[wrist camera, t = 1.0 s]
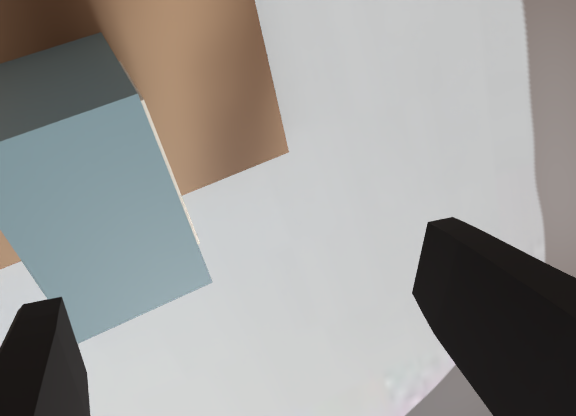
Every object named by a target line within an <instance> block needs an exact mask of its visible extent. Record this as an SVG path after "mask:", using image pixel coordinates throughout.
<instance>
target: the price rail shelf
mask: <svg viewBox="0 0 576 416" xmlns="http://www.w3.org/2000/svg"><path fill="white" fill-rule="evenodd" d="M100 32H101V33H102V34H103V36H104V38H105V39H106V41H107V43H108V45H109V46H110V48H111V50H112V51H113V53H114V55H115V56H116V58H117V60H118V61H121V63H122V65H123V66H124V68H125V69H126V71H127V73H128V74H129V76H130V78H131V79H132V81H133V83H134V84H135V86H136V88H137V89H138V91H139V92H140V94H141V96H142V97H143V99H144V101H145V104H146V106H147V109H148V111H149V114H150V116H151V119H152V122H153V124H154V127H155V129H156V132H157V134H158V137H159V139H160V142H161V145H162V147H163V150H164V152H165V155H166V157H167V160H168V162H169V165H170V167H171V170H172V173H173V175H174V178H175V180H176V183H177V185H178V188H179V190H180V193H181V196H182V195H185V194H187V193H189V192H192V191H194V190H197V189H199V188H202V187H204V186H207V185H209V184H212V183H214V182H217V181H219V180H222V179H224V178H226V177H229V176H231V175H234V174H236V173H239V172H241V171H244V170H246V169H249V168H251V167H254V166H256V165H258V164H261V163H263V162H266V161H268V160H271V159H273V158H276V157H278V156H281V155H283V154H286V153H288V152H289V151H288V146H287V142H286V137H285V133H284V129H283V124H282V120H281V115H280V111H279V106H278V102H277V98H276V93H275V89H274V84H273V80H272V75H271V71H270V67H269V62H268V58H267V53H266V49H265V45H264V40H263V36H262V31H261V27H260V22H259V18H258V14H257V9H256V5H255V0H0V64H1V63H4V62H7V61H11V60H14V59H17V58H20V57H23V56H27V55H30V54H33V53H36V52H39V51H42V50H46V49H49V48H52V47H55V46H58V45H62V44H65V43H68V42H71V41H74V40H77V39H81V38H84V37H87V36H90V35H93V34H97V33H100ZM20 261H21V259H20V258H19V256H18V255H17V253H16V252H15V251H14V249H13V248H12V246H11V245H10V243H9V242H8V240H7V239H6V237H5V236H4V234H3V233H2V231H1V230H0V269H2V268H5V267H7V266H10V265H12V264H15V263H17V262H20Z"/></svg>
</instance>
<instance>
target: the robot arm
mask: <svg viewBox="0 0 576 416" xmlns="http://www.w3.org/2000/svg"><path fill="white" fill-rule="evenodd" d="M412 294H413V295H414V297H415V299H416V301H417V303H418V305H419V307H420V309H421V311H422V313H423V315H424V317H425V318H426V320H427V322H428V324H429V326H430V327H431V329H432V331H433V333H434V334H435V336H436V337H437V339H438V340H439V341H440V343H441V344H442V346H443V347H444V349H445V350H446V351H447V353H448V354H449V355H450V357H451V358H452V360H453V361H454V362H455V364H456V365H457V367H458V368H459V369H460V370H461V372H462V373H463V375H464V376H465V377H466V379H467V380H468V382H469V383H470V384H471V386H472V387H473V388H474V390H475V391H476V392H477V394H478V395H479V397H480V398H481V399H482V401H483V402H484V404H485V405H486V406H487V408H488V409H489V410H490V412H491V413H492V414H493V416H576V278H575V277H573V276H570V275H568V274H566V273H564V272H562V271H560V270H558V269H556V268H554V267H552V266H550V265H548V264H546V263H544V262H542V261H540V260H538V259H536V258H534V257H532V256H530V255H528V254H526V253H525V252H523V251H521V250H519V249H517V248H515V247H513V246H511V245H509V244H507V243H505V242H503V241H501V240H499V239H497V238H495V237H493V236H491V235H490V234H488V233H486V232H484V231H482V230H480V229H478V228H476V227H473V226H471V225H469V224H467V223H465V222H463V221H461V220H458V219H456V218H454V217H451V218H446V219H441V220H436V221H431V222H428V224H427V228H426V233H425V237H424V242H423V246H422V251H421V255H420V260H419V264H418V269H417V273H416V278H415V283H414V287H413V292H412ZM0 416H90V406H89V393H88V380H87V372H86V368H85V365H84V362H83V359H82V356H81V353H80V350H79V347H78V344H77V341H76V338H75V335H74V332H73V329H72V326H71V323H70V320H69V317H68V314H67V311H66V308H65V305H64V302H63V298H62V297H57V298H52V299H48V300H43V301H38V302H33V303H28V304H23V305H22V307H21V308H20V309H19V310H18V312H17V314H16V316H15V318H14V320H13V322H12V324H11V327H10V329H9V331H8V333H7V335H6V337H5V339H4V341H3V343H2V345H1V347H0Z"/></svg>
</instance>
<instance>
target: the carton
mask: <svg viewBox="0 0 576 416" xmlns="http://www.w3.org/2000/svg"><path fill="white" fill-rule="evenodd" d="M0 230H1V231H2V233H3V234H4V236H5V237H6V239H7V240H8V242H9V243H10V245H11V246H12V248H13V249H14V251H15V252H16V253H17V255H18V256H19V258H20V259H21V261H22V262H23V264H24V265H25V267H26V268H27V270H28V271H29V273H30V274H31V275H32V277H33V278H34V280H35V281H36V283H37V284H38V286H39V287H40V289H41V290H42V292H43V293H44V295H45V296H46V297H47V299H52V298H57V297H62V298H63V302H64V305H65V308H66V311H67V314H68V317H69V320H70V323H71V326H72V329H73V332H74V335H75V338H76V341H77V343H80V342H83V341H85V340H87V339H89V338H91V337H94V336H96V335H98V334H100V333H102V332H105V331H107V330H109V329H111V328H113V327H116V326H118V325H120V324H122V323H124V322H127V321H129V320H131V319H133V318H135V317H138V316H140V315H142V314H144V313H146V312H149V311H151V310H153V309H155V308H157V307H160V306H162V305H164V304H166V303H168V302H171V301H173V300H175V299H177V298H179V297H182V296H184V295H186V294H188V293H190V292H193V291H195V290H197V289H199V288H201V287H204V286H206V285H208V284H210V283H212V279H211V277H210V274H209V272H208V269H207V267H206V264H205V262H204V259H203V257H202V254H201V252H200V249H199V247H198V244H200V241H199V239H198V236H197V234H196V231H195V229H194V226H193V224H192V221H191V218H190V216H189V213H188V211H187V208H186V206H185V203H184V201H183V198H182V196H181V193H180V190H179V188H178V185H177V183H176V180H175V178H174V175H173V173H172V170H171V167H170V165H169V162H168V160H167V157H166V155H165V152H164V150H163V147H162V145H161V142H160V139H159V137H158V134H157V132H156V129H155V127H154V124H153V122H152V119H151V116H150V114H149V111H148V109H147V106H146V104H145V101H144V99H143V97H142V96H141V94H140V92H139V91H138V89H137V88H136V86H135V84H134V83H133V81H132V79H131V78H130V76H129V74H128V73H127V71H126V69H125V68H124V66H123V65H122V63H121V61H118V60H117V58H116V56H115V55H114V53H113V51H112V50H111V48H110V46H109V45H108V43H107V41H106V39H105V38H104V36H103V34H102V33H101V32H100V33H97V34H93V35H90V36H87V37H84V38H81V39H77V40H74V41H71V42H68V43H65V44H62V45H58V46H55V47H52V48H49V49H46V50H42V51H39V52H36V53H33V54H30V55H27V56H23V57H20V58H17V59H14V60H11V61H7V62H4V63H1V64H0Z"/></svg>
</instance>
